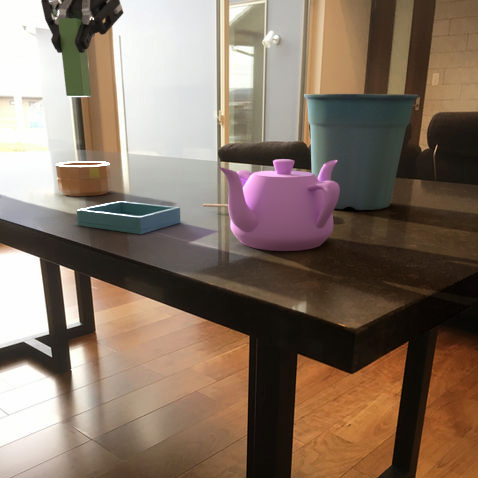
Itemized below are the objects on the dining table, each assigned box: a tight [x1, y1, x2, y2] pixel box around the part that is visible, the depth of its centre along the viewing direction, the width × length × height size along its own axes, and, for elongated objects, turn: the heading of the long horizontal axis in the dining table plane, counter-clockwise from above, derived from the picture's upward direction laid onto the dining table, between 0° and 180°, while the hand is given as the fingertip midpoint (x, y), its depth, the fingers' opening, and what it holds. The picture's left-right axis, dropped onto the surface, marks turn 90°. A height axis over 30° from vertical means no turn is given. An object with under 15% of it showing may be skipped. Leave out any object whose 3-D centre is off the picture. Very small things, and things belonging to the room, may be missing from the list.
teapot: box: [218, 158, 340, 252], centre depth 57 cm, size 12×14×9 cm
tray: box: [75, 200, 182, 235], centre depth 67 cm, size 10×8×2 cm
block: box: [58, 18, 92, 98], centre depth 83 cm, size 3×3×11 cm
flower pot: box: [303, 93, 419, 211], centre depth 79 cm, size 16×16×16 cm
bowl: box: [55, 161, 113, 197], centre depth 92 cm, size 9×9×5 cm
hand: (68, 47), depth 80 cm, fingers closed on block, 3 cm apart
